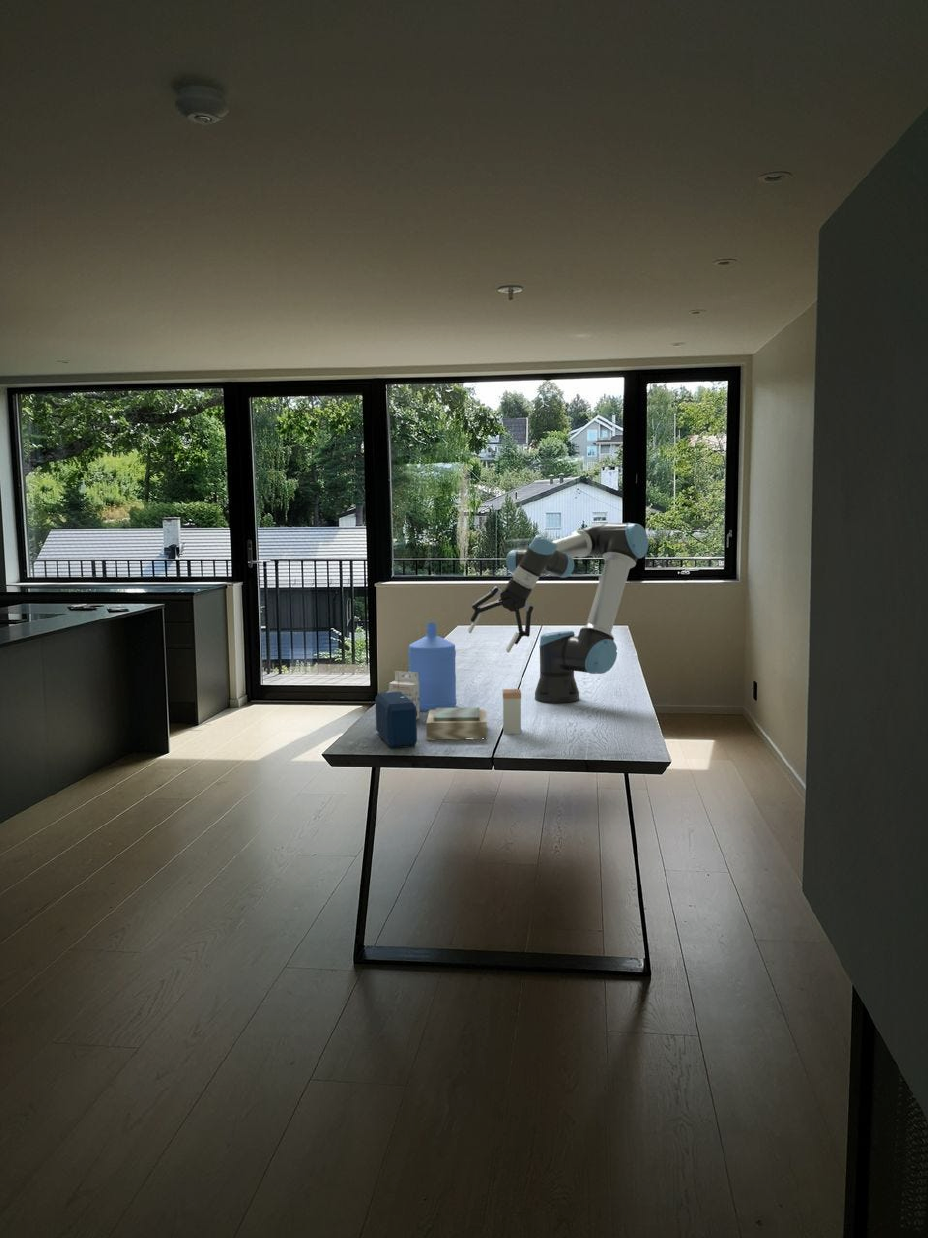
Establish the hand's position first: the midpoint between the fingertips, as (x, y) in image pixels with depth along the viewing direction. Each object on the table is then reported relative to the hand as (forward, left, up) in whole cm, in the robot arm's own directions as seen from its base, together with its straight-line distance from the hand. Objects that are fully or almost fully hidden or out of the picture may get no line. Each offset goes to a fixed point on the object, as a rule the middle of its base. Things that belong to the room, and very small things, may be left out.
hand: (488, 641), depth 287 cm
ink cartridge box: (+26, +2, -24) cm, 36 cm away
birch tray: (+9, +20, -24) cm, 33 cm away
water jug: (+18, -15, -24) cm, 34 cm away
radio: (+26, +28, -24) cm, 46 cm away
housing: (-7, +19, -24) cm, 31 cm away
